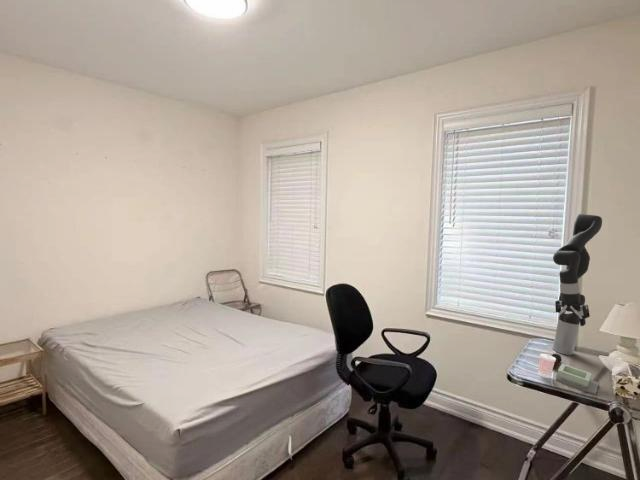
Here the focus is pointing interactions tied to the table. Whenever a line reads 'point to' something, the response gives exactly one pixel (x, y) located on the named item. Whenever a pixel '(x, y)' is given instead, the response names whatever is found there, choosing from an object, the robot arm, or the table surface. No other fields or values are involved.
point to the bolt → (558, 360)
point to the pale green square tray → (576, 378)
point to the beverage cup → (546, 364)
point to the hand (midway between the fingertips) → (573, 323)
